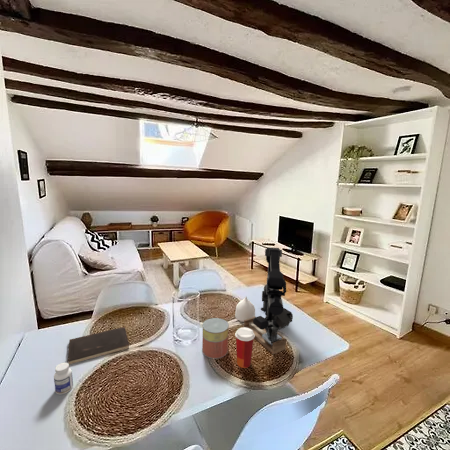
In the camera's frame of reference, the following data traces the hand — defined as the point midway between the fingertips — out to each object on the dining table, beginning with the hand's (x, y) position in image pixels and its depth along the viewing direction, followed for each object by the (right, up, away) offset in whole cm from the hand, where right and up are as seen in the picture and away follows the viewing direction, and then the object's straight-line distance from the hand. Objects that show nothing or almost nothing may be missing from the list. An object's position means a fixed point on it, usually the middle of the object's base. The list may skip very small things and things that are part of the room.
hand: (272, 335), depth 115 cm
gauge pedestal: (+4, -2, +16) cm, 17 cm away
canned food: (-26, -5, -3) cm, 26 cm away
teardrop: (-10, -1, +24) cm, 27 cm away
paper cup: (-14, -7, -11) cm, 19 cm away
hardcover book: (-77, -4, -3) cm, 77 cm away
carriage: (0, -3, +1) cm, 3 cm away
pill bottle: (-77, -8, -26) cm, 82 cm away
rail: (-3, -4, +6) cm, 8 cm away
